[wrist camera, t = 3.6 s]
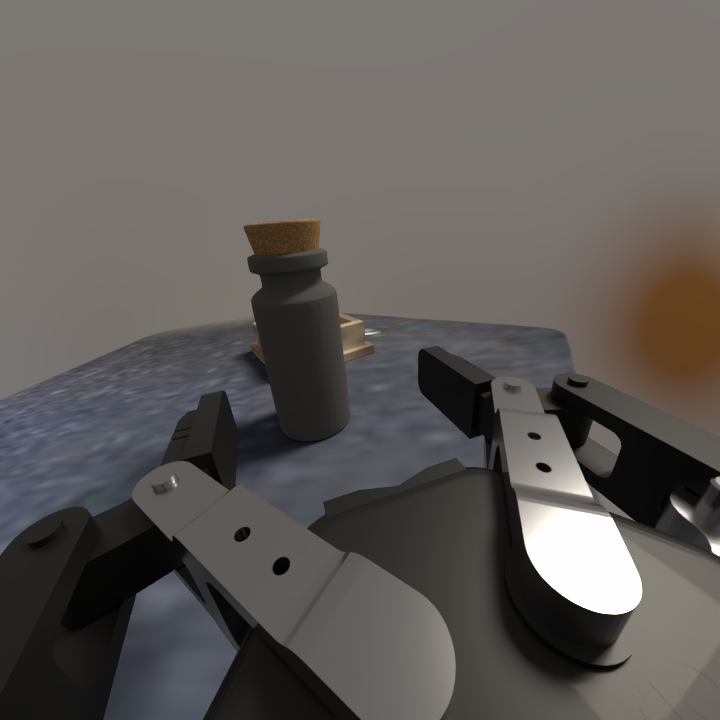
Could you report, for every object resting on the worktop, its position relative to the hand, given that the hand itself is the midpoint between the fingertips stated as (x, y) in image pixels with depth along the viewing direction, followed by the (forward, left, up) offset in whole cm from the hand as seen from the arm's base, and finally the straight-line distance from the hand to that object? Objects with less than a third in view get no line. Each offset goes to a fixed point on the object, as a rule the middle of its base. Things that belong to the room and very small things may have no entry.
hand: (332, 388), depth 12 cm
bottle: (+3, +10, -9) cm, 13 cm away
